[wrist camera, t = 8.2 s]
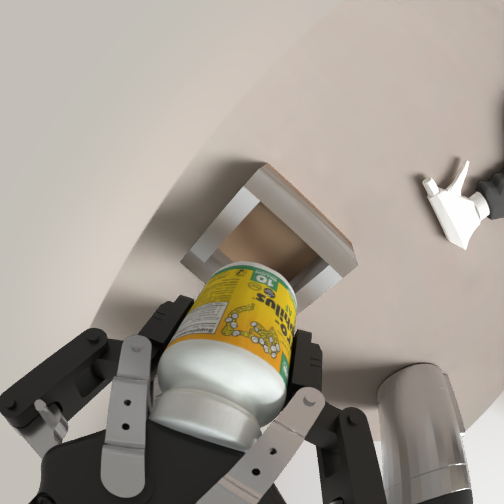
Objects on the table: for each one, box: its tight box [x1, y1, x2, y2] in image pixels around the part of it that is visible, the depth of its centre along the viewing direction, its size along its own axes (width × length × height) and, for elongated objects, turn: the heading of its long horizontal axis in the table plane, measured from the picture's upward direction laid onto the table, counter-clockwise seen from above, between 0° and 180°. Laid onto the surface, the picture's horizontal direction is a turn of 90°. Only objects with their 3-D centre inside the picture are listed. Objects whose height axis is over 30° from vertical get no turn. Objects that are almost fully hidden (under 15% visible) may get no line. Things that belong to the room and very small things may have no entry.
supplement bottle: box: [148, 261, 297, 453], centre depth 12 cm, size 5×5×10 cm
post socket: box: [180, 163, 358, 315], centre depth 22 cm, size 10×10×4 cm
